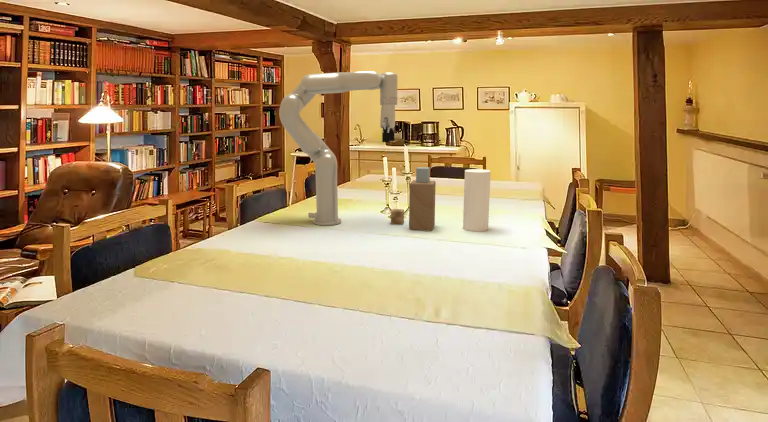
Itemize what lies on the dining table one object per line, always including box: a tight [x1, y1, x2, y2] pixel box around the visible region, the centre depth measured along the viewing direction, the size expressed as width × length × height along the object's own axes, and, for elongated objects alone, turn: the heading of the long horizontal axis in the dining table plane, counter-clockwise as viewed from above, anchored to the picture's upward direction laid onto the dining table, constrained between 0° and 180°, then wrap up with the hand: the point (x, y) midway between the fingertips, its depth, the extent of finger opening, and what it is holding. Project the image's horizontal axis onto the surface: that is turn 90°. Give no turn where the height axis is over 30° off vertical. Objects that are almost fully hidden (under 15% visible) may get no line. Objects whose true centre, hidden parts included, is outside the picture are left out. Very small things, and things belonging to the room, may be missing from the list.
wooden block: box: [408, 179, 436, 232], centre depth 221 cm, size 10×10×20 cm
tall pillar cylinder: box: [462, 168, 492, 232], centre depth 219 cm, size 11×11×25 cm
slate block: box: [415, 166, 431, 183], centre depth 218 cm, size 5×5×6 cm
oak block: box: [390, 208, 405, 226], centre depth 231 cm, size 5×5×6 cm
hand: (388, 141), depth 228 cm, fingers open, 9 cm apart
